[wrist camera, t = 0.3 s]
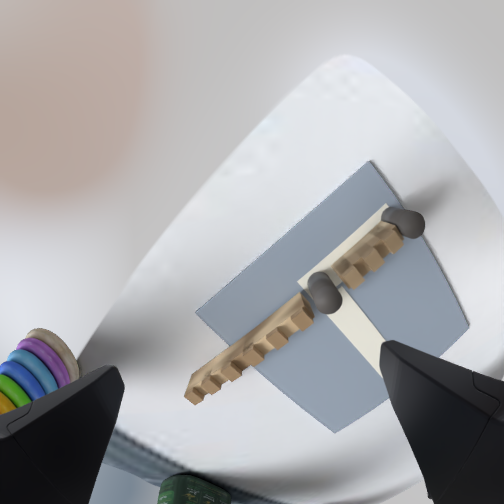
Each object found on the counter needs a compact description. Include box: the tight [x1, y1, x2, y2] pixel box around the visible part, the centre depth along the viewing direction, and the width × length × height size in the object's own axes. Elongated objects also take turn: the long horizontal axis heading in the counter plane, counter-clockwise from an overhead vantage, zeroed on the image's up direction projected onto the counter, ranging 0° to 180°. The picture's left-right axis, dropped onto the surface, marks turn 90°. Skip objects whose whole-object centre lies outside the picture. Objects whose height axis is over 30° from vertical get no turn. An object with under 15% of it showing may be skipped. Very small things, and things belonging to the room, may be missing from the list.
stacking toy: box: [0, 328, 79, 415], centre depth 16 cm, size 8×8×19 cm
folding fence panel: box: [184, 292, 315, 405], centre depth 21 cm, size 12×1×3 cm, turn 132°
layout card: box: [196, 161, 469, 433], centre depth 23 cm, size 20×18×1 cm
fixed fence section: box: [307, 207, 425, 314], centre depth 20 cm, size 2×9×4 cm, turn 132°
